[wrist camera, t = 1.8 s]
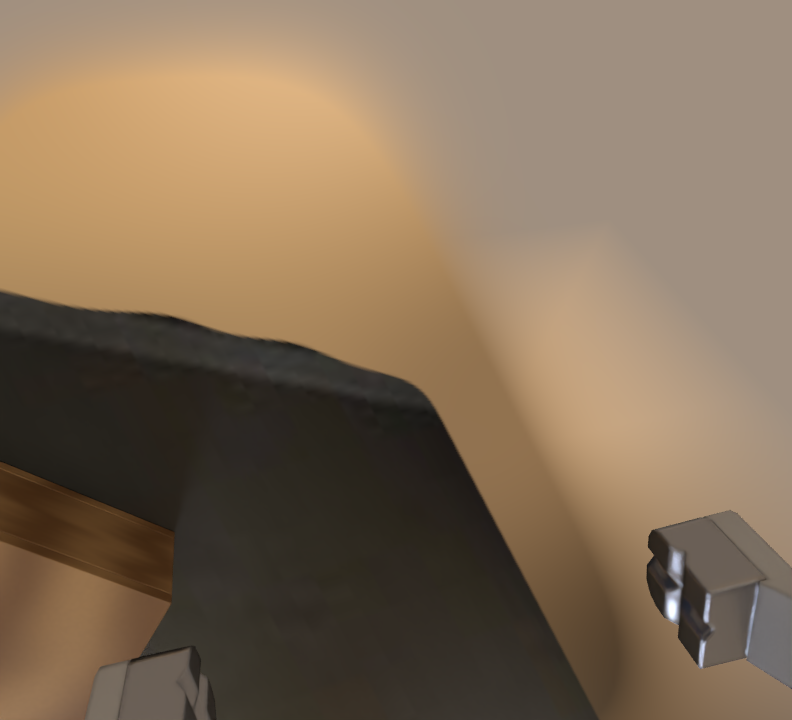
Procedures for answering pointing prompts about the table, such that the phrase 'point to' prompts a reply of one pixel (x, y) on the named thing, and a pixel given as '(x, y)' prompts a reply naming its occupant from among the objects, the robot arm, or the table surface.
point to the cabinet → (72, 594)
